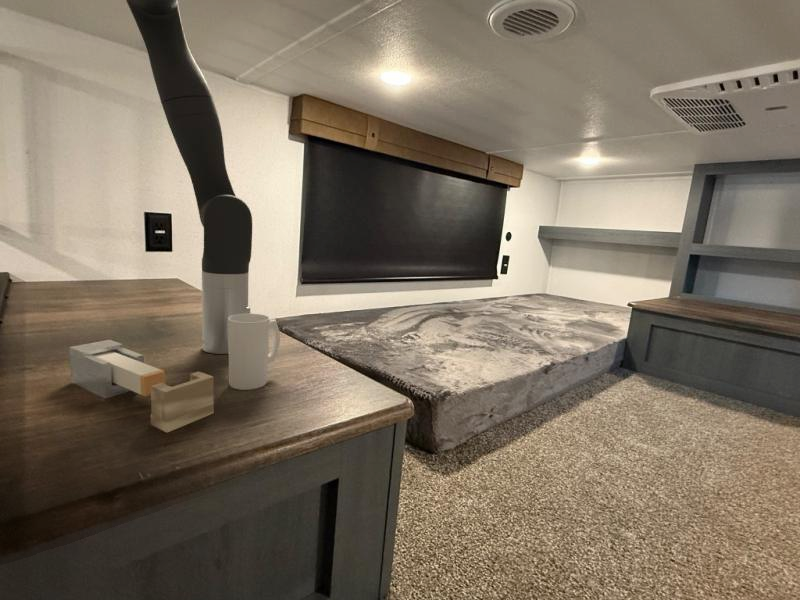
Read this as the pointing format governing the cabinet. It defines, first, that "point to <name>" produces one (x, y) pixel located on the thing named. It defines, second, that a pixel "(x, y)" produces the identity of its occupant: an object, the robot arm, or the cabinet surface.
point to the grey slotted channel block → (98, 367)
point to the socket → (182, 402)
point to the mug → (250, 349)
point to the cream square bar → (132, 372)
